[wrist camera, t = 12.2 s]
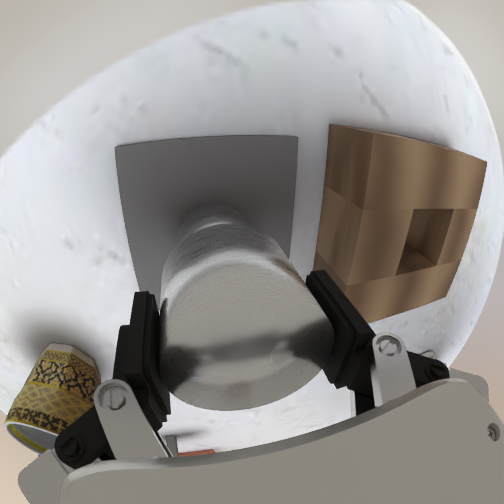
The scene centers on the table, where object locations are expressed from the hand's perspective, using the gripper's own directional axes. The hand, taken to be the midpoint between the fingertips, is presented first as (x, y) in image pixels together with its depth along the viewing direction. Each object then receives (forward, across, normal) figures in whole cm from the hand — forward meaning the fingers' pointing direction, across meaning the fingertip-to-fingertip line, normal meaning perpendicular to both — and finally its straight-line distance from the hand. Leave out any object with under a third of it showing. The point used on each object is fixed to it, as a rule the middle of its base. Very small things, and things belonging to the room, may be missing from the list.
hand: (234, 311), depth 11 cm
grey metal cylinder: (+7, 0, 0) cm, 7 cm away
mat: (+8, 0, 0) cm, 8 cm away
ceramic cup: (+8, +16, +14) cm, 23 cm away
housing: (+8, -15, 0) cm, 17 cm away
